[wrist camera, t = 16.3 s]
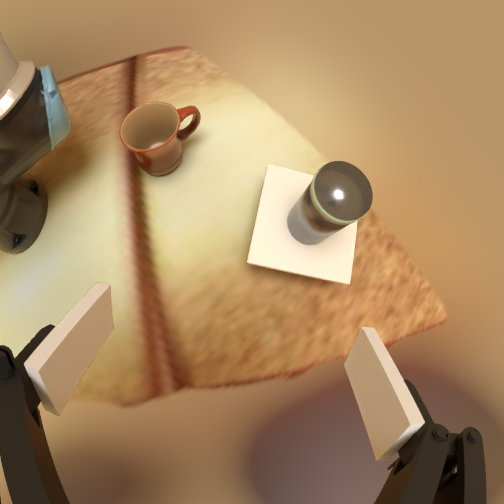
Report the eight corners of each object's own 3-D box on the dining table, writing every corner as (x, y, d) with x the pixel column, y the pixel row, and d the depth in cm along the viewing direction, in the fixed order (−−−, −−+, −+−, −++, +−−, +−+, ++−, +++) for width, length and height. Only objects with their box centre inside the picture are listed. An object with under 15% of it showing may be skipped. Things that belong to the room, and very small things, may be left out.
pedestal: (242, 268, 42) (247, 262, 35) (261, 183, 45) (267, 163, 38) (330, 287, 43) (349, 284, 36) (341, 205, 46) (359, 189, 39)
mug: (148, 191, 43) (131, 162, 32) (130, 153, 43) (112, 120, 33) (213, 157, 45) (212, 121, 35) (190, 122, 46) (185, 84, 36)
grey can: (282, 240, 36) (310, 210, 24) (290, 196, 37) (318, 152, 26) (327, 250, 36) (371, 227, 25) (332, 207, 38) (374, 171, 26)
